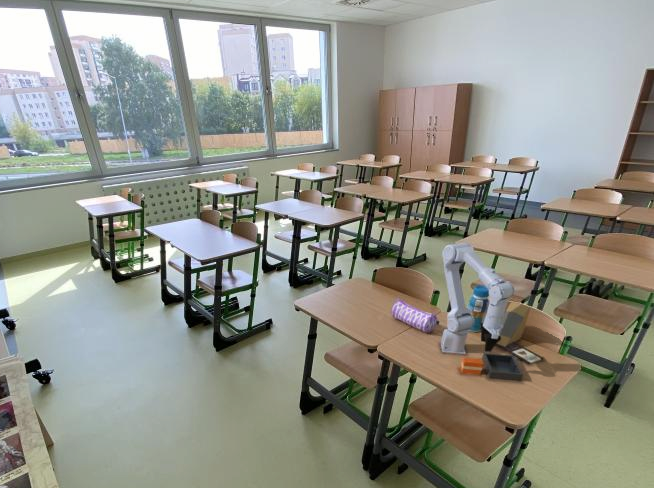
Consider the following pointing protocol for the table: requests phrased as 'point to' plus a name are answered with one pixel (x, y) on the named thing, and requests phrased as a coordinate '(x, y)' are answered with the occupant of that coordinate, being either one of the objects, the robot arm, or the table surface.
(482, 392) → the table surface
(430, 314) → the pencil case
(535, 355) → the chocolate bar
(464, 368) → the snack box
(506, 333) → the sandwich container
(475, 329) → the beverage bottle
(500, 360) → the tray
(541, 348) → the table surface
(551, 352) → the table surface
